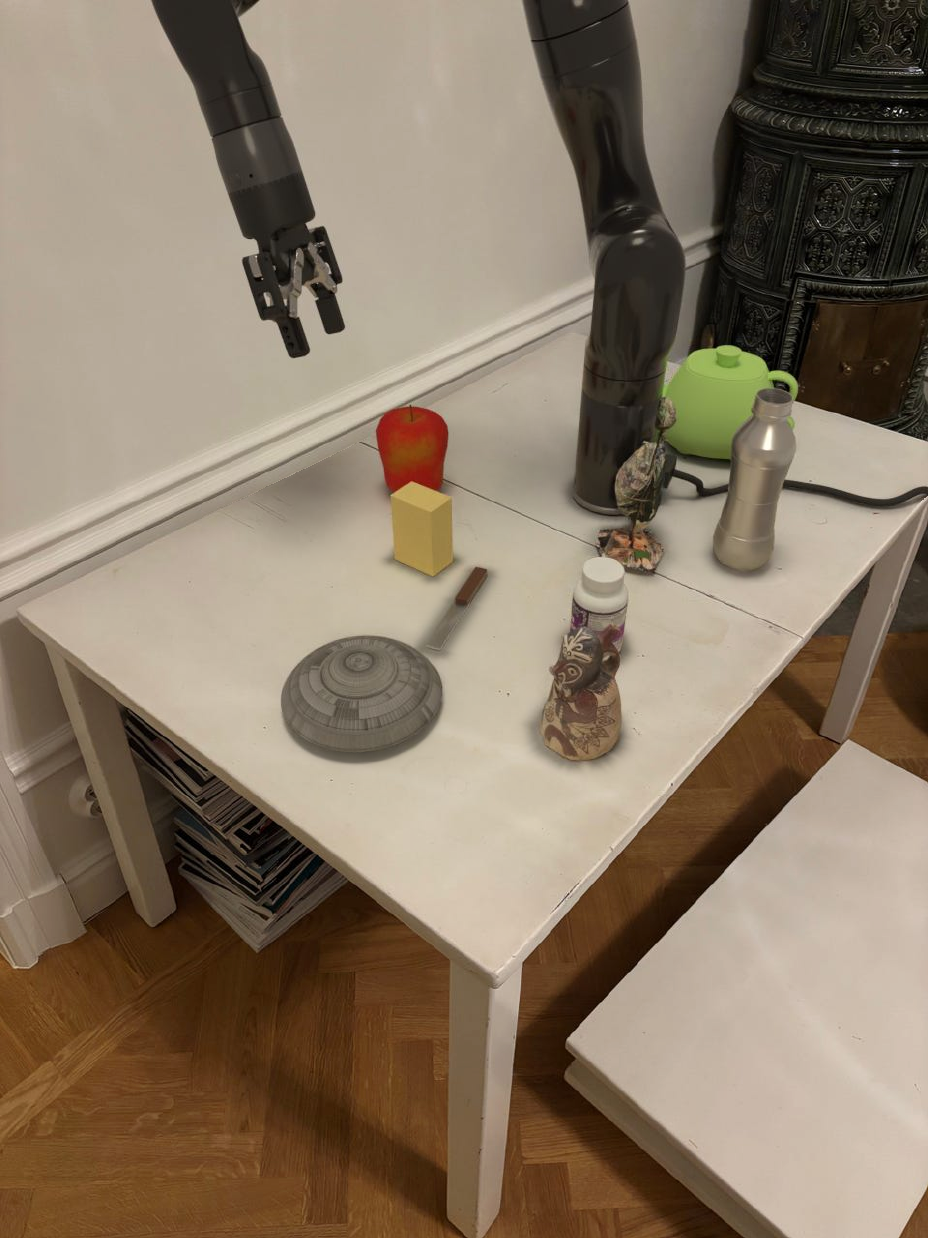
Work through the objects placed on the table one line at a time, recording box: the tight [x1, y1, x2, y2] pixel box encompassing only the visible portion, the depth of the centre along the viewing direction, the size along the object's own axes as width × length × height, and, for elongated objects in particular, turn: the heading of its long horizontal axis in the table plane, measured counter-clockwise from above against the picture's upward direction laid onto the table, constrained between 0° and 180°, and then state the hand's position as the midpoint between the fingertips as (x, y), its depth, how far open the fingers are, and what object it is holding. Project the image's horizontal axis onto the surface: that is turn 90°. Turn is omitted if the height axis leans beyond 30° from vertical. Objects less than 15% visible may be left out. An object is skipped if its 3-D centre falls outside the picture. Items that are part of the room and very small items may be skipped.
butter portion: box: [390, 481, 454, 577], centre depth 103 cm, size 4×6×8 cm, turn 53°
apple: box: [375, 404, 450, 493], centre depth 114 cm, size 9×8×12 cm
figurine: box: [539, 623, 623, 761], centre depth 82 cm, size 7×7×12 cm
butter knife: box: [425, 566, 488, 651], centre depth 99 cm, size 14×2×1 cm, turn 158°
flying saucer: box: [280, 634, 443, 753], centre depth 87 cm, size 15×15×6 cm
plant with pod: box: [595, 396, 677, 574], centre depth 101 cm, size 8×11×20 cm
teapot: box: [662, 344, 799, 461], centre depth 123 cm, size 22×15×13 cm
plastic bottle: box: [712, 387, 797, 572], centre depth 99 cm, size 6×7×20 cm
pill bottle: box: [569, 556, 630, 661], centre depth 92 cm, size 5×5×10 cm
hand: (319, 343), depth 98 cm, fingers open, 8 cm apart
